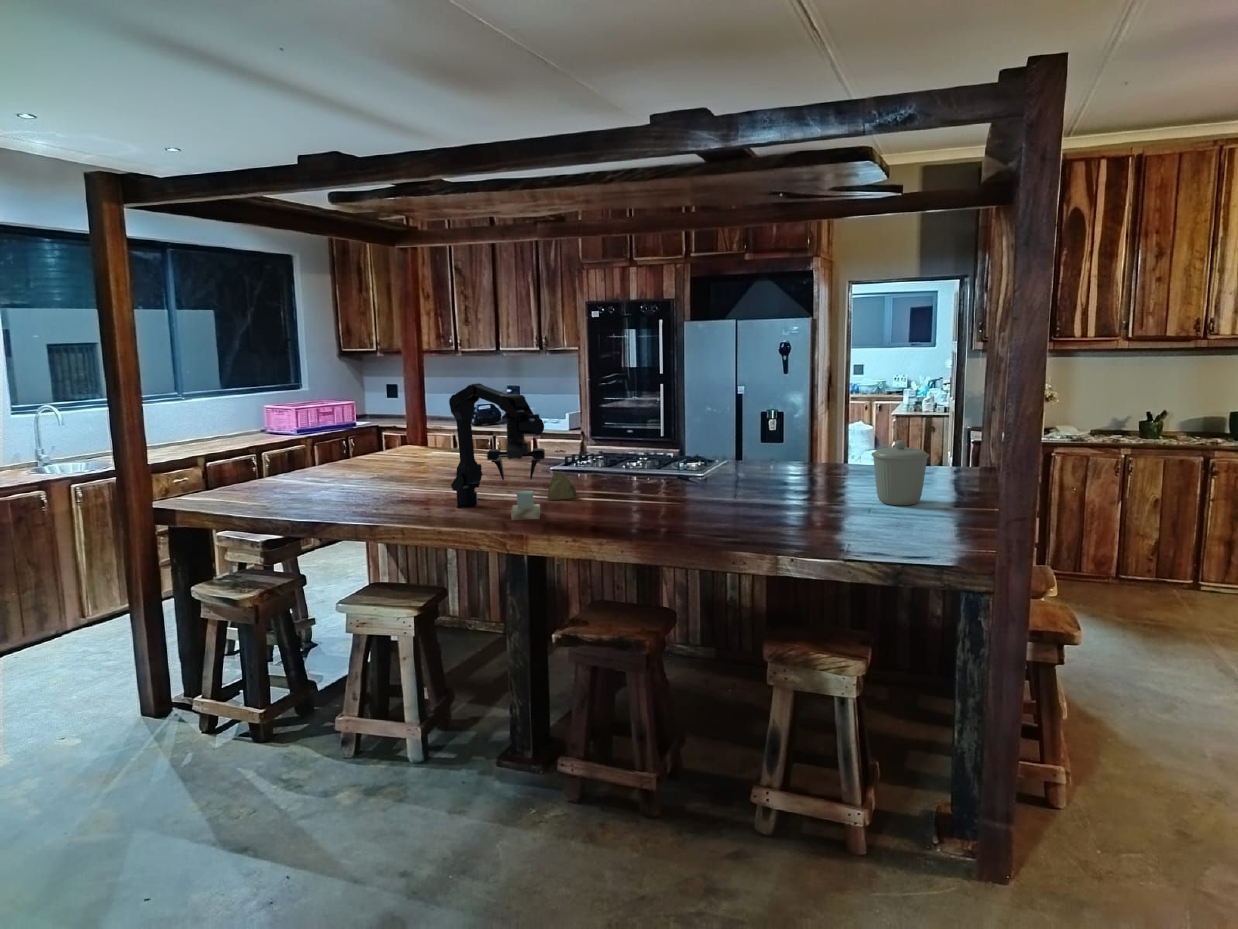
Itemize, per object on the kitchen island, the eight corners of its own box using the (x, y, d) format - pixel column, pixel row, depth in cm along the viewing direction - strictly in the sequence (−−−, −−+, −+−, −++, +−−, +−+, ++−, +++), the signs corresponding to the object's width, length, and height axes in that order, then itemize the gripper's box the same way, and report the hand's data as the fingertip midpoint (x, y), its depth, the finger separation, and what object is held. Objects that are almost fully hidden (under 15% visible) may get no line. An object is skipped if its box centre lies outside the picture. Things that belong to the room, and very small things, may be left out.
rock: (583, 489, 297) (559, 484, 301) (579, 474, 291) (554, 469, 295) (571, 511, 291) (547, 506, 295) (566, 496, 285) (541, 491, 289)
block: (517, 509, 263) (516, 494, 263) (518, 506, 268) (517, 491, 268) (532, 508, 264) (532, 493, 263) (533, 505, 269) (532, 490, 268)
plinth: (511, 520, 262) (511, 510, 261) (513, 514, 271) (513, 505, 270) (539, 518, 262) (539, 509, 262) (540, 512, 271) (540, 504, 271)
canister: (932, 509, 259) (934, 443, 256) (873, 508, 263) (874, 444, 259) (923, 497, 276) (924, 436, 273) (867, 497, 280) (869, 436, 277)
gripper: (484, 437, 258) (486, 485, 261) (543, 436, 259) (544, 483, 262) (488, 432, 269) (489, 478, 272) (544, 431, 270) (545, 477, 273)
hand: (517, 479), depth 269 cm, fingers open, 9 cm apart
